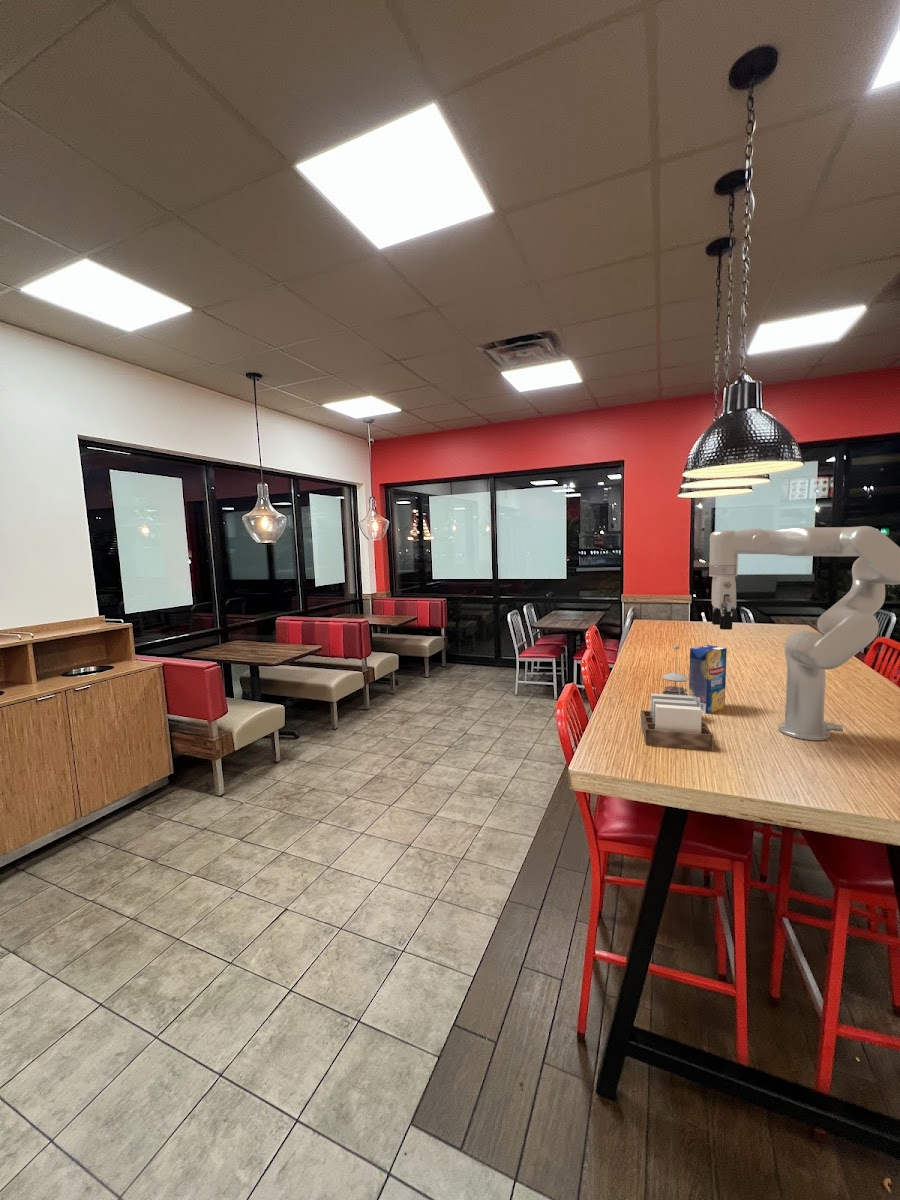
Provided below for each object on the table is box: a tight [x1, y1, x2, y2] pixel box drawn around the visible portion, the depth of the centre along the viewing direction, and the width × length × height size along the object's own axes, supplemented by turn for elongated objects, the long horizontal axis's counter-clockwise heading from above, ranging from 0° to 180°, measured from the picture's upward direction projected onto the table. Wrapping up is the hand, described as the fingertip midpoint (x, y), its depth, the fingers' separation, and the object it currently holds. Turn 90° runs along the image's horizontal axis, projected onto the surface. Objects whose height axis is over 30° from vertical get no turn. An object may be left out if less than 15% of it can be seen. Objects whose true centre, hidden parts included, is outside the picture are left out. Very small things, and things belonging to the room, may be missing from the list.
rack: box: [640, 710, 714, 752], centre depth 146 cm, size 18×18×4 cm
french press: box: [661, 644, 689, 696], centre depth 161 cm, size 10×12×25 cm
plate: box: [655, 704, 703, 733], centre depth 140 cm, size 12×3×10 cm, turn 72°
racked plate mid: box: [652, 699, 697, 723], centre depth 145 cm, size 12×3×10 cm, turn 72°
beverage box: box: [688, 644, 728, 714], centre depth 170 cm, size 7×11×22 cm, turn 120°
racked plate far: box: [650, 693, 694, 717], centre depth 151 cm, size 12×3×10 cm, turn 72°
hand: (721, 626), depth 146 cm, fingers open, 9 cm apart
